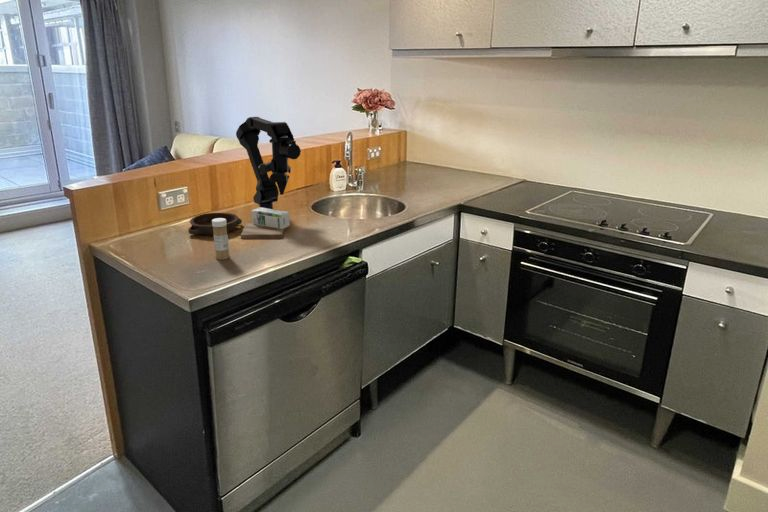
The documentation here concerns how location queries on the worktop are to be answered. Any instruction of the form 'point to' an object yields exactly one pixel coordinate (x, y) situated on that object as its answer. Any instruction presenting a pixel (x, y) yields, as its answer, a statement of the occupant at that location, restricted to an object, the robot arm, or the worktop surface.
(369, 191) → the worktop surface
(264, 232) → the cutting board
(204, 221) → the dish
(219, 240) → the sprinkles bottle
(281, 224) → the syrup box
